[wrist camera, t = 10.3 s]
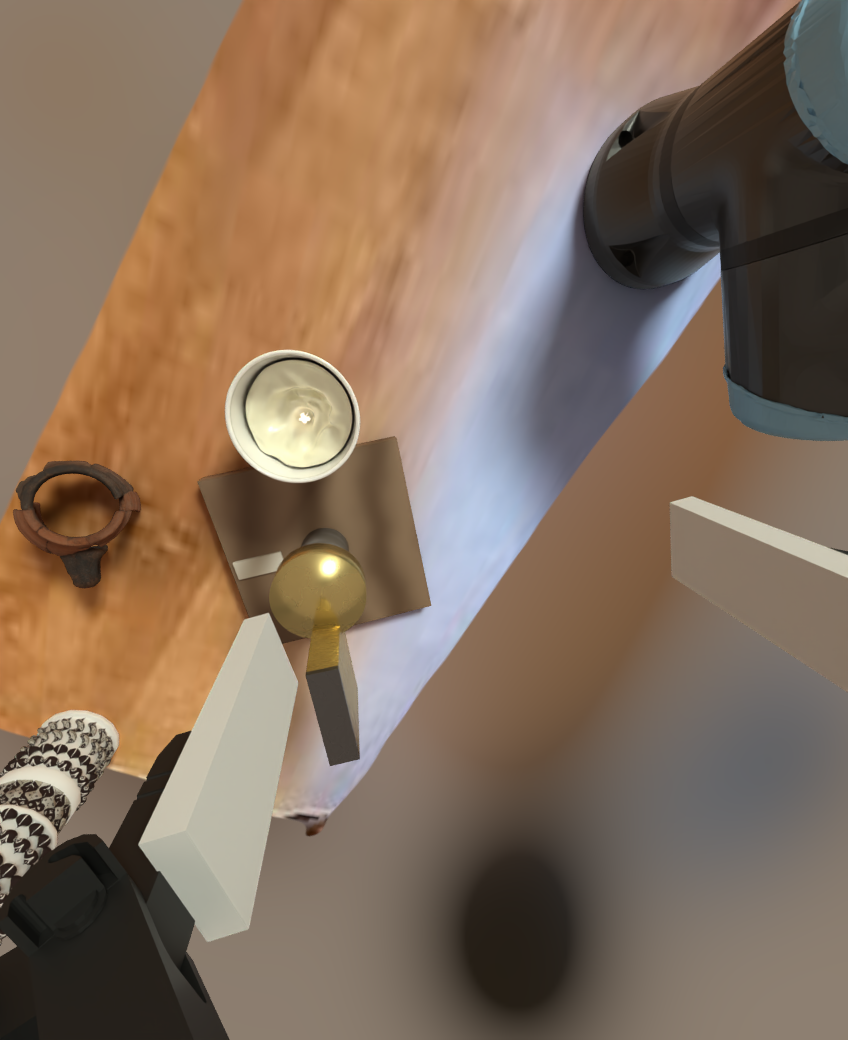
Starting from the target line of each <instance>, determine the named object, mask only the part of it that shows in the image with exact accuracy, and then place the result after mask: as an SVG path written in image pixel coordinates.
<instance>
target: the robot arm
mask: <svg viewBox="0 0 848 1040" xmlns="http://www.w3.org/2000/svg"><path fill="white" fill-rule="evenodd" d="M583 217H584V226H585V232H586V237H587V240H588V243H589V246H590V249H591V251H592V253H593V255H594V257H595V259H596V261H597V262H598V264H599V265H600V266H601V268H602V269H603V270H604V271H605V272H606V273H607V274H608V275H609V276H610V277H611V278H613V279H614V280H615V281H617V282H619V283H621V284H623V285H625V286H628V287H631V288H637V289H652V288H657V287H661V286H664V285H668V284H671V283H674V282H677V281H679V280H682V279H684V278H686V277H688V276H689V275H691V274H693V273H694V272H696V271H697V270H698V269H700V268H701V267H702V266H703V265H705V264H706V263H707V262H708V261H710V260H711V259H712V258H713V257H715V256H716V255H717V254H718V253H719V252H720V260H721V287H722V305H723V306H722V307H723V327H724V347H725V365H724V367H723V374H724V378H725V380H726V381H727V383H728V392H729V402H730V408H731V410H732V413H733V415H734V416H735V417H736V418H737V419H739V420H740V421H741V422H742V423H743V424H744V425H745V426H747V427H749V428H751V429H754V430H756V431H759V432H762V433H765V434H769V435H773V436H778V437H784V438H791V439H800V440H813V441H814V440H815V441H843V440H848V0H801V1H800V2H799V3H797V4H796V5H795V6H794V7H793V8H791V9H790V10H789V11H788V12H787V13H786V14H784V15H783V16H782V17H781V18H780V19H778V20H777V21H776V22H775V23H774V24H772V25H771V26H770V27H769V28H768V29H766V30H765V31H764V32H763V33H762V34H761V35H759V36H758V37H757V38H756V39H755V40H753V41H752V42H751V43H750V44H749V45H747V46H746V47H745V48H744V49H743V50H742V51H740V52H739V53H738V54H737V55H736V56H734V57H733V58H732V59H731V60H730V61H728V62H727V63H726V64H725V65H724V66H722V67H721V68H720V69H719V70H718V71H717V72H715V73H714V74H713V75H712V76H711V77H710V78H708V79H707V80H706V81H705V82H704V83H702V84H701V85H700V86H697V87H694V88H690V89H687V90H684V91H681V92H677V93H674V94H671V95H668V96H664V97H661V98H658V99H656V100H653V101H651V102H650V103H648V104H646V105H644V106H643V107H641V108H640V109H638V110H637V111H636V112H634V113H633V114H632V115H631V116H630V117H629V118H627V119H626V120H625V121H624V122H623V123H622V124H621V125H620V126H619V127H618V128H617V129H616V130H615V131H614V132H613V133H612V134H611V135H610V136H609V137H608V139H607V140H606V141H605V143H604V144H603V146H602V147H601V149H600V151H599V152H598V154H597V156H596V158H595V160H594V162H593V165H592V167H591V170H590V173H589V176H588V180H587V184H586V188H585V194H584V205H583ZM670 526H671V529H670V530H671V565H672V577H673V578H675V579H676V580H678V581H679V582H681V583H683V584H684V585H686V586H687V587H689V588H690V589H692V590H693V591H695V592H696V593H698V594H699V595H701V596H702V597H704V598H705V599H707V600H708V601H710V602H711V603H713V604H714V605H716V606H717V607H719V608H720V609H722V610H723V611H725V612H727V613H728V614H729V615H731V616H733V617H734V618H736V619H737V620H739V621H740V622H742V623H743V624H745V625H747V626H748V627H749V628H751V629H752V630H754V631H756V632H757V633H758V634H760V635H761V636H763V637H764V638H766V639H767V640H769V641H770V642H772V643H774V644H775V645H777V646H778V647H780V648H781V649H783V650H784V651H786V652H787V653H789V654H790V655H792V656H793V657H795V658H796V659H798V660H799V661H801V662H802V663H804V664H805V665H807V666H808V667H810V668H812V669H813V670H814V671H816V672H817V673H819V674H821V675H822V676H824V677H825V678H827V679H828V680H830V681H831V682H833V683H834V684H836V685H837V686H839V687H841V688H842V689H843V690H845V691H846V692H848V551H843V550H838V549H833V548H828V547H825V546H822V545H819V544H816V543H813V542H811V541H809V540H806V539H804V538H801V537H798V536H796V535H792V534H790V533H788V532H785V531H782V530H780V529H777V528H774V527H772V526H769V525H766V524H764V523H761V522H758V521H756V520H753V519H750V518H748V517H745V516H742V515H740V514H737V513H734V512H732V511H729V510H727V509H724V508H721V507H718V506H716V505H713V504H711V503H708V502H705V501H703V500H700V499H697V498H695V497H688V498H685V499H681V500H677V501H674V502H670ZM297 688H298V681H297V678H296V676H295V674H294V671H293V669H292V666H291V664H290V662H289V659H288V657H287V655H286V652H285V650H284V647H283V645H282V643H281V640H280V638H279V636H278V633H277V631H276V629H275V626H274V624H273V621H272V619H271V617H270V614H269V613H266V614H263V615H259V616H256V617H252V618H248V619H245V620H244V621H243V623H242V625H241V627H240V630H239V632H238V634H237V636H236V638H235V640H234V642H233V644H232V647H231V649H230V651H229V653H228V655H227V657H226V659H225V661H224V664H223V666H222V668H221V670H220V672H219V674H218V676H217V678H216V681H215V683H214V685H213V687H212V689H211V691H210V693H209V695H208V698H207V700H206V702H205V704H204V706H203V708H202V710H201V712H200V714H199V717H198V719H197V721H196V723H195V725H194V727H193V729H192V731H188V732H185V733H182V734H178V735H176V736H175V737H174V738H173V739H172V740H171V742H170V743H169V744H168V745H167V746H166V747H165V748H164V750H163V751H162V752H161V753H160V754H159V755H158V757H157V759H156V760H155V762H154V764H153V766H152V768H151V770H150V772H149V774H148V776H147V777H146V778H147V781H145V782H144V783H143V785H142V787H141V789H140V791H139V793H138V795H137V800H135V801H134V802H133V804H132V806H131V808H130V810H129V811H128V813H127V815H126V817H125V819H124V821H123V823H122V825H121V827H120V829H119V830H118V832H117V834H116V836H115V838H114V840H113V842H112V844H111V846H110V847H109V848H108V847H107V846H106V844H105V843H104V842H103V840H102V839H100V838H99V837H98V836H97V835H96V834H90V835H89V834H88V835H85V834H84V835H81V836H79V837H76V838H73V839H71V840H68V841H66V842H64V843H63V844H61V845H59V846H58V847H56V848H55V849H53V850H52V851H50V852H48V853H47V854H46V855H45V856H44V857H42V858H41V859H40V860H39V861H38V862H37V863H36V864H34V865H33V866H32V867H31V868H30V869H29V870H28V871H27V872H26V873H25V874H24V875H23V876H22V878H21V879H20V880H19V881H18V882H17V883H16V885H15V886H14V887H13V888H12V889H11V891H10V892H9V894H8V896H7V898H6V899H5V901H4V903H3V904H2V906H1V908H0V929H1V930H2V931H3V932H4V933H5V934H6V935H7V936H8V937H9V938H10V939H11V940H12V941H13V942H14V943H15V944H16V945H17V947H16V948H14V949H12V950H11V951H9V952H7V953H6V954H4V955H2V956H1V957H0V1040H229V1038H228V1036H227V1033H226V1031H225V1029H224V1027H223V1025H222V1023H221V1020H220V1018H219V1016H218V1014H217V1012H216V1010H215V1007H214V1005H213V1003H212V1001H211V999H210V997H209V994H208V992H207V990H206V988H205V986H204V984H203V982H202V979H201V977H200V975H199V973H198V971H197V968H196V966H195V964H194V962H193V960H192V959H191V957H190V956H189V955H188V953H187V952H186V950H187V947H188V944H189V940H190V937H191V934H192V930H193V927H194V924H195V925H196V927H197V928H198V930H199V931H200V932H201V934H202V935H203V937H204V938H205V940H206V941H207V942H210V941H213V940H216V939H220V938H223V937H226V936H229V935H232V934H236V933H239V932H241V931H245V930H248V929H249V926H250V921H251V916H252V911H253V906H254V901H255V896H256V891H257V886H258V881H259V876H260V871H261V867H262V862H263V856H264V851H265V847H266V841H267V837H268V832H269V827H270V822H271V817H272V812H273V807H274V802H275V797H276V792H277V787H278V782H279V777H280V772H281V767H282V762H283V757H284V752H285V747H286V742H287V737H288V732H289V727H290V722H291V717H292V712H293V707H294V702H295V697H296V693H297Z"/></svg>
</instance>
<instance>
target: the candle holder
mask: <svg viewBox="0 0 848 1040" xmlns="http://www.w3.org/2000/svg"><path fill="white" fill-rule="evenodd" d="M225 420H226V426H227V430H228V433H229V436H230V438H231V440H232V443H233V444H234V446H235V448H236V449H237V451H238V452H239V454H240V455H241V456H242V457H243V459H244V460H245V461H246V462H247V463H248V464H250V465H251V466H252V467H253V468H254V469H256V470H257V471H259V472H260V473H262V474H264V475H266V476H268V477H270V478H273V479H276V480H279V481H283V482H288V483H307V482H312V481H316V480H319V479H322V478H324V477H327V476H329V475H330V474H332V473H333V472H335V471H336V470H338V469H339V468H340V467H341V466H342V465H343V464H344V463H345V462H346V461H347V459H348V458H349V457H350V455H351V454H352V452H353V450H354V448H355V446H356V443H357V440H358V436H359V431H360V412H359V407H358V403H357V400H356V397H355V395H354V392H353V390H352V389H351V387H350V385H349V384H348V382H347V381H346V379H345V378H344V377H343V376H342V374H341V373H340V372H339V371H338V370H337V369H335V368H334V367H333V366H332V365H331V364H329V363H328V362H326V361H325V360H323V359H321V358H319V357H317V356H315V355H312V354H310V353H306V352H302V351H297V350H278V351H273V352H269V353H266V354H263V355H261V356H258V357H257V358H255V359H253V360H252V361H250V362H249V363H247V364H246V365H245V366H244V367H243V368H242V369H241V370H240V371H239V372H238V374H237V375H236V376H235V378H234V379H233V381H232V383H231V385H230V387H229V390H228V393H227V397H226V402H225Z"/></svg>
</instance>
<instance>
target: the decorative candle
mask: <svg viewBox="0 0 848 1040" xmlns="http://www.w3.org/2000/svg"><path fill="white" fill-rule="evenodd" d="M37 731H38V734H37V736H35V735H33V736H31V738H30V739H29V740H28V741H27V742H28V744H29V745H28V746H27V747H26V746H24V747H22V748H21V749H20V752H19V753H17V754H16V755H15V758H14V759H13V760H11V761H10V762H9V763H8V765H7V766H6V767H5V768H4V769H3V772H1V773H0V908H1V906H2V904H3V903H4V901H5V899H6V898H7V896H8V894H9V892H10V891H11V889H12V888H13V887H14V886H15V885H16V883H17V882H18V881H19V880H20V879H21V878H22V876H23V875H24V874H25V873H26V872H27V871H28V870H29V869H30V868H31V867H32V866H33V865H34V864H36V863H37V862H38V861H39V860H40V859H41V858H42V857H44V856H45V855H46V854H47V853H48V852H50V851H52V850H53V849H55V847H56V846H57V844H58V839H57V836H58V834H59V833H60V831H61V830H62V828H63V826H65V825H66V824H67V823H68V822H69V820H70V818H71V817H72V815H73V814H74V812H75V811H77V810H78V809H79V808H80V806H81V805H83V804H84V803H85V802H86V799H87V798H86V796H87V795H88V794H89V792H90V791H92V790H93V788H94V783H95V782H96V781H97V780H98V779H99V778H100V777H101V776H102V775H103V773H104V769H105V767H106V766H108V764H109V763H110V761H111V757H112V756H113V755H114V753H115V751H116V749H117V748H118V746H119V733H118V731H117V730H116V728H115V726H114V724H113V723H111V722H110V721H109V720H107V719H106V718H105V717H103V716H102V715H99V714H96V713H93V712H90V711H87V710H69V711H65V712H61V713H57V714H55V715H53V716H52V717H51V718H49V719H48V720H46V721H45V722H44V723H43V724H42V726H41V728H39V729H38V730H37ZM6 936H7V935H6V934H5V933H4V932H3V931H2V930H1V929H0V945H1V943H2V939H3V938H4V937H6Z"/></svg>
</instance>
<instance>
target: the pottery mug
mask: <svg viewBox="0 0 848 1040" xmlns="http://www.w3.org/2000/svg"><path fill="white" fill-rule="evenodd" d="M72 473H73V474H83V475H86V476H90V477H92V478H95V479H97V480H98V481H100V482H102V483H103V484H104V485H105V486H106V487H107V488H108V489H109V490H110V491H111V493H112V495H113V497H114V498H115V499H118V498H119V503H120V509H119V511H116V512H115V513H114V515H113V518H112V520H111V521H110V523H109V524H108V525H107V526H106V527H105V528H103V529H102V530H100V531H99V532H97V533H95V534H91V535H88V536H85V537H68V536H63V535H60V534H57V533H55V532H53V531H51V530H49V529H48V528H47V527H46V525H45V524H44V522H43V520H42V517H41V513H40V504H39V503H33V501H34V497H35V494H36V492H37V491H38V489H39V488H40V486H41V485H42V484H43V483H44V482H46V481H47V480H48V479H50V478H53V477H55V476H58V475H62V474H72ZM16 492H17V493H18V497H19V499H20V501H21V509H22V510H17V509H15V510H13V515H14V520H15V523H16V525H17V527H18V529H19V531H20V532H21V533H22V534H23V535H24V537H25V538H27V539H28V540H29V541H30V542H31V543H32V544H34V545H36V546H37V547H38V548H40V549H41V550H43V551H46V552H48V553H52V554H56V555H58V556H60V558H61V559H62V561H63V562H64V564H65V567H66V569H67V572H68V574H69V575H70V576H71V578H72V580H73V584H74V585H75V586H76V587H80V588H90V587H94V586H96V585H97V584H98V583H99V582H100V579H101V573H100V572H101V571H100V562H101V557H102V556H103V555H104V554H105V553H106V551H107V550H108V546H107V545H106V544H107V543H109V542H110V541H111V540H112V539H113V538H115V537H116V536H117V535H118V534H119V533H120V532H121V530H122V529H123V528H124V527H125V526H126V524H127V523H128V521H129V519H130V516H131V513H132V512H131V511H136V512H139V511H140V510H141V504H140V498H139V496H138V495H137V492H133V487H132V486H131V485H130V484H129V483H128V482H127V481H126V480H125V479H123V478H122V477H121V476H119V475H118V474H116V473H115V472H113V471H112V470H110V469H108V468H106V467H103V466H101V465H99V464H93V465H91V464H89V463H88V462H86V461H53V462H48V463H47V465H45V467H44V470H43V471H42V472H40V473H38V474H37V475H33V476H30V477H28V478H27V479H26V480H25V481H21V482H20V483H19V485H18V487H17V489H16ZM93 545H98V546H93ZM91 546H93V547H91Z"/></svg>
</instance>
